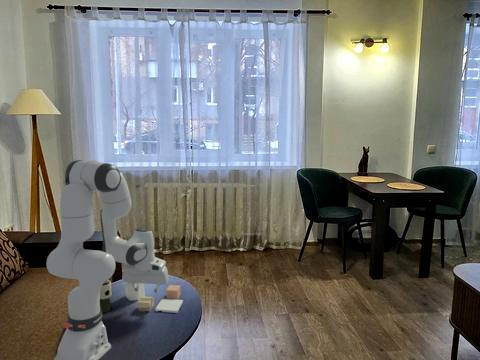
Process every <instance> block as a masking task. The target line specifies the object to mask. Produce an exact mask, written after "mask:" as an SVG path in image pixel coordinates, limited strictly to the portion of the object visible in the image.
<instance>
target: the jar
mask: <svg viewBox="0 0 480 360" xmlns="http://www.w3.org/2000/svg"><path fill="white" fill-rule="evenodd" d="M135 284H136V286H139V290H138V291H134V288H133V286H132V285H131V283H128V282H124V287H125V289H124V290H125V298H127V300H128V301H139V300H140V298H141V297H142V296H146V293H145V284H144V283H135Z"/></svg>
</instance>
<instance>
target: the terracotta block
mask: <svg viewBox="0 0 480 360" xmlns="http://www.w3.org/2000/svg"><path fill="white" fill-rule="evenodd" d="M181 286H182V285H177V284H176V285H175V284H169V285H168V287H166V290H165V291H166V292H165V294H166V295H165V297H166V298H165V299H175V300H179V298H180V296H181V293H182V291H181V289H182V288H181Z"/></svg>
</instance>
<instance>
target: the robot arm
mask: <svg viewBox="0 0 480 360" xmlns="http://www.w3.org/2000/svg"><path fill="white" fill-rule="evenodd" d="M64 178H65V179H64V183H65V186H64V187H62V189H61V191H60V199H59V201H60V202H59V214H60V225H61V226H60V229H61V230H60V231H61V232H60V235H61V236H60V240H59V242H58V244H57V246H56V248H54V249H53V250H52V251H51V252H50V253H49V255H48V256H47V259H46V268H47V271H48V273H49V274H51V275H54V276H56V277H59V278H62V279H71V280H78V283H79V285H78V286H76V287H74V288H73V289H72V290H71V291H70V292H69V294H68V296H67V306H68V314H67V319H66V321H65V322H64V323H63V324H62V328H63V329H66V330H65V331H64V333H63V335H62V337H61V340H60V341H59V345H58V347H57V353H56V355H55V356H54V358H53V360H100V359H101V358H102V357H103V356H105V354H106V353H107V352H109V350H111V349H112V344H111V343H110V342H109V340H108V335H107V330H106V329H107V327H106V325H104V322H103V321H102V320H103V312H102V311H101V308H100V290H101V287H102V285H103V283H104V282H105V281H106V280H109V279H110V278H111V277H112V276H113V275H114V273H115V271H116V262H117V263H120V264H122V270H123V273H122V280H123V282H124V283H125V282H128V283H131V285H132V286H133V288H134V291H138V290H139V286H136V284H135V283H144V285H145V284H146V285H156V287H155V288H154V291H153V292H154V293H156V294H158V293H159V292H160V290H159V289H160V287H161V285H162V286H163V285H164V286H165V285H166V284H168V282H169V278H170V277H169V270H168V267H167V266H166V265H167V264H166V263H167V262H166V260H164V259H161V258H159V257H156V256H155V250H154V249H155V238H154V234H153V231H152V230H151V229H149V228H145V227H138V228H135V229H134V231H133V233H132V236H131V237H130V238H129V239H128V240H127V239H123V238H121V237H120V236H119V235H118V230H117V220H120V219H123V218H124V217H125V216H127V215H128V214H129V213H130V211H131V210H132V205H133V204H132V202H133V201H132V197H131V193H130V189H129V186H128V182H127V181H126V179H125V176H124V174H123V172H121V171H120V170H119V168H118V167H117V166H115V165H114V164H111V163H108V162H100V161H97V160H91V159H90V160H89V159H88V160H84V159H78V160H74V161H71V162H69V164H68V165H67V166H66V169H65V172H64ZM95 192H99V194H100V200H101V204H102V208H101V210H100V215H99V216H100V217H99V218H100V227H101V234H102V249H101V250H94V249H85V248H84V242H85V241H87V240H89V239H91V238H92V237H93V235H94V234H95V230H96V229H95V217H94V216H95V214H94V204H93V200H92V199H93V195H94V193H95Z"/></svg>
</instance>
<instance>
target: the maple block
mask: <svg viewBox="0 0 480 360" xmlns="http://www.w3.org/2000/svg"><path fill="white" fill-rule="evenodd" d="M154 300H155V298H154V296H146V295H145V296H142V297H141V298H140V300H137V311H138V312H144V311H150V310H151V309H153V308H154V307H155V302H154ZM153 306H154V307H153ZM151 311H152V310H151ZM151 311H150V312H151Z"/></svg>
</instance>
